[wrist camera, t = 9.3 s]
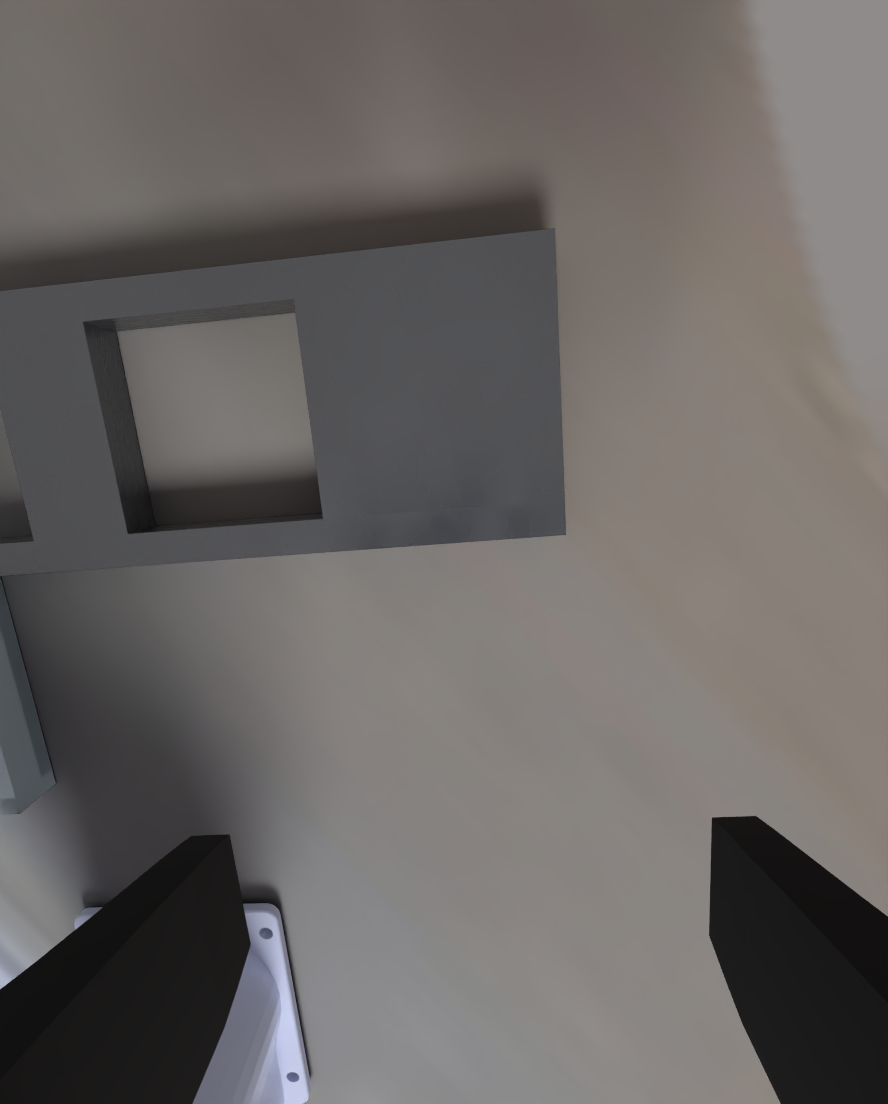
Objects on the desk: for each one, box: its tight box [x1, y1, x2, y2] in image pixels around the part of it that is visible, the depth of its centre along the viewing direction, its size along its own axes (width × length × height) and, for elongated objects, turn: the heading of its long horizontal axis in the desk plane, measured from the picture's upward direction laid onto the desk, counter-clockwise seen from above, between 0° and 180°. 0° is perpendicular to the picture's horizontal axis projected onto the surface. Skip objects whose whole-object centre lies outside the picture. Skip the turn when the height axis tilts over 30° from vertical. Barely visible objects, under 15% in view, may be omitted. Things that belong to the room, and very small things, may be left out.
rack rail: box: [0, 228, 566, 576], centre depth 16 cm, size 8×26×1 cm, turn 95°
